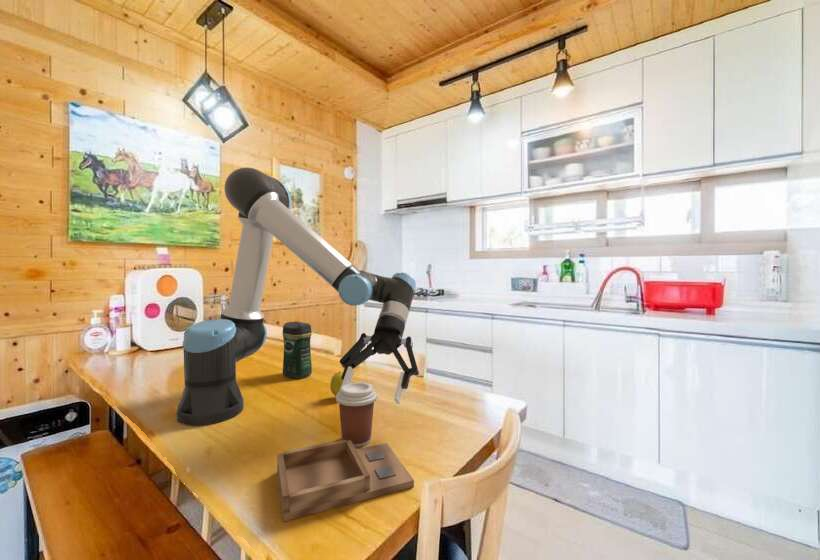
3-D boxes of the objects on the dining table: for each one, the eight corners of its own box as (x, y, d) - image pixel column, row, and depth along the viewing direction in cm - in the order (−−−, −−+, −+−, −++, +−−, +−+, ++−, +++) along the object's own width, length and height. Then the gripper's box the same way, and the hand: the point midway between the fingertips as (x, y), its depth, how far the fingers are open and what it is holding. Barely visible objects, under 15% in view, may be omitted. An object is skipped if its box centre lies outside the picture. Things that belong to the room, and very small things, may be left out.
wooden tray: (283, 522, 54) (283, 498, 54) (277, 471, 67) (277, 452, 67) (413, 486, 63) (414, 466, 63) (386, 448, 76) (386, 431, 76)
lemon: (345, 402, 100) (345, 374, 99) (327, 401, 101) (327, 373, 101) (352, 395, 105) (352, 369, 105) (335, 394, 106) (335, 367, 106)
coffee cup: (338, 430, 84) (338, 380, 83) (376, 429, 85) (377, 379, 84) (333, 451, 75) (333, 395, 74) (376, 449, 75) (377, 394, 75)
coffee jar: (315, 374, 124) (315, 321, 123) (297, 381, 117) (297, 325, 116) (297, 369, 129) (296, 319, 128) (278, 375, 123) (278, 322, 121)
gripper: (439, 333, 95) (424, 411, 81) (354, 327, 102) (327, 397, 89) (434, 316, 89) (417, 397, 76) (345, 311, 97) (315, 384, 83)
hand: (369, 397), depth 82 cm, fingers open, 13 cm apart
